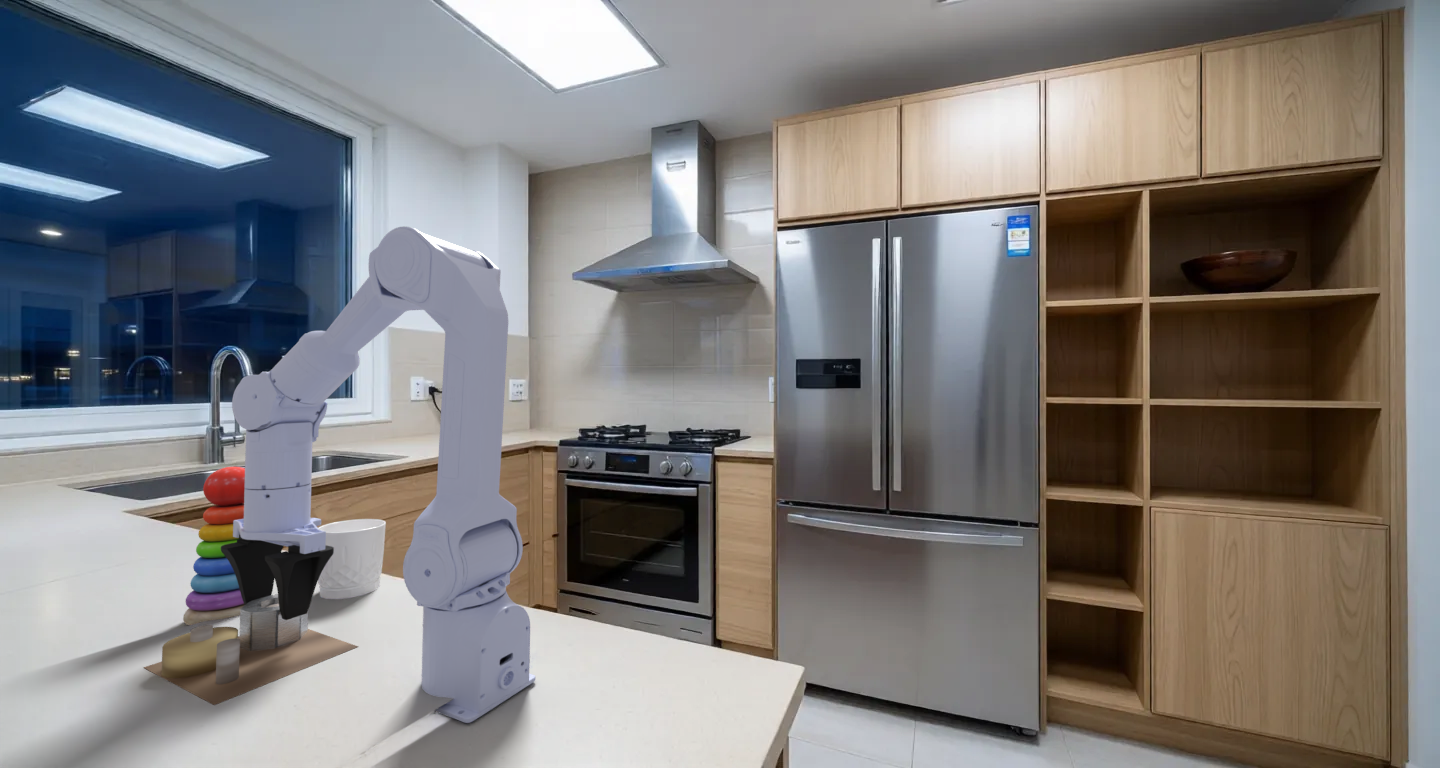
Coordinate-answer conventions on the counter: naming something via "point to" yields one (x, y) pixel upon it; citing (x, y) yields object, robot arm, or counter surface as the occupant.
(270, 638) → the gear ring
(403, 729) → the counter surface
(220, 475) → the stacking toy
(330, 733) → the counter surface
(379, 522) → the white cup
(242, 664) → the board
